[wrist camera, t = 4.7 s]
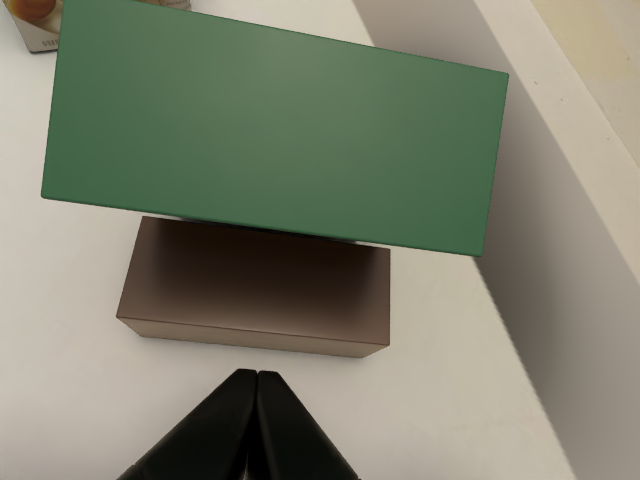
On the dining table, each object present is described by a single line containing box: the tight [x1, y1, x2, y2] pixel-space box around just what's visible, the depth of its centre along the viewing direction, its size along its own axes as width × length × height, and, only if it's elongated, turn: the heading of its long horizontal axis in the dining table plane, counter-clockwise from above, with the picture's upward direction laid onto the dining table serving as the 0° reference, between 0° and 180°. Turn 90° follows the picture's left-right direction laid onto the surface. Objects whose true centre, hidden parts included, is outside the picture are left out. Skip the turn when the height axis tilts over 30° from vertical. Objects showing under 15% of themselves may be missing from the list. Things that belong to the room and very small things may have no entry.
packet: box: [41, 0, 509, 257], centre depth 15 cm, size 4×9×13 cm, turn 86°
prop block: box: [116, 216, 390, 358], centre depth 18 cm, size 4×10×4 cm, turn 86°
